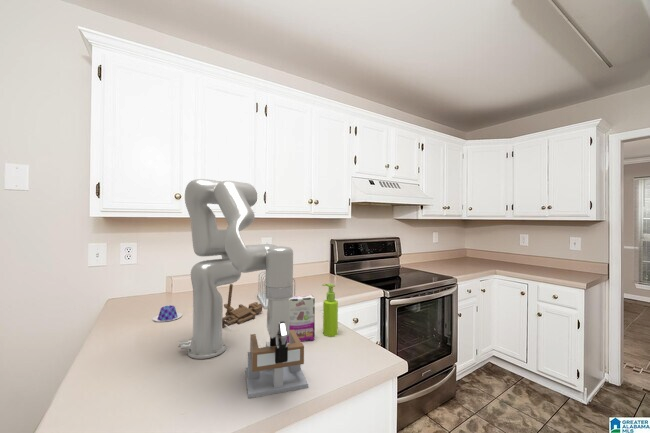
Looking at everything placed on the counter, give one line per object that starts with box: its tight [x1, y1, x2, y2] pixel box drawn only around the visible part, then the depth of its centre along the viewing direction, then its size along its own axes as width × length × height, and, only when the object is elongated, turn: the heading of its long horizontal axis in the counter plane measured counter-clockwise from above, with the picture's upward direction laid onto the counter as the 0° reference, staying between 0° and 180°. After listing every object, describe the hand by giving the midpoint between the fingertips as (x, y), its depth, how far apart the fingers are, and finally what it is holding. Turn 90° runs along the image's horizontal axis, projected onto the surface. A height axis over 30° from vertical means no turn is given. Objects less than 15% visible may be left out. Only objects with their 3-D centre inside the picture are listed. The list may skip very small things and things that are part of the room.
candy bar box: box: [287, 294, 316, 344], centre depth 110 cm, size 11×5×16 cm, turn 105°
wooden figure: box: [222, 283, 263, 331], centre depth 130 cm, size 14×18×25 cm
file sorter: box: [256, 270, 296, 310], centre depth 160 cm, size 25×17×16 cm
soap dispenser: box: [322, 283, 339, 338], centre depth 116 cm, size 6×7×20 cm
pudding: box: [152, 305, 183, 322], centre depth 131 cm, size 12×12×5 cm
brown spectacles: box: [249, 330, 305, 372], centre depth 83 cm, size 14×13×5 cm
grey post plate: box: [245, 341, 309, 399], centre depth 82 cm, size 16×14×8 cm
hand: (278, 353), depth 78 cm, fingers open, 9 cm apart
